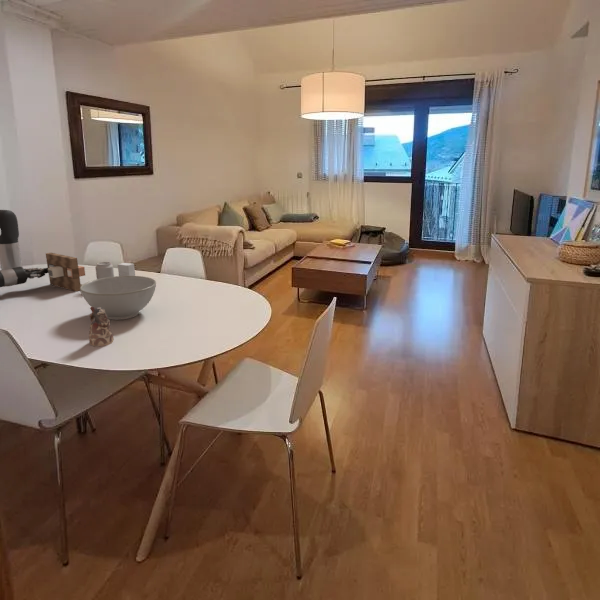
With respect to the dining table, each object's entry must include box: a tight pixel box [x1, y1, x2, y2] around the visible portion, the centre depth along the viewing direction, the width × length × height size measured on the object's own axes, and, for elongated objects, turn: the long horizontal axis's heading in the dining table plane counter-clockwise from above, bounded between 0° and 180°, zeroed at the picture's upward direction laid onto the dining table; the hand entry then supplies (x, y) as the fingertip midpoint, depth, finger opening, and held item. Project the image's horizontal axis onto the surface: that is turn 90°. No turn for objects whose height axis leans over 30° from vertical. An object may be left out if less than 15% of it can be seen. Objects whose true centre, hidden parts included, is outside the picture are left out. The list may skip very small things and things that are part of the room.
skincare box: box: [117, 262, 136, 276], centre depth 207 cm, size 6×4×12 cm
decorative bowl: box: [79, 275, 157, 321], centre depth 173 cm, size 27×27×12 cm
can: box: [95, 261, 115, 279], centre depth 209 cm, size 8×8×12 cm
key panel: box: [45, 252, 83, 292], centre depth 210 cm, size 21×6×15 cm, turn 57°
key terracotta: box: [67, 265, 86, 278], centre depth 206 cm, size 4×6×4 cm, turn 147°
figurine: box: [88, 306, 115, 347], centre depth 146 cm, size 7×7×12 cm
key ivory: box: [47, 266, 64, 278], centre depth 206 cm, size 4×6×4 cm, turn 147°
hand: (51, 269), depth 211 cm, fingers closed
